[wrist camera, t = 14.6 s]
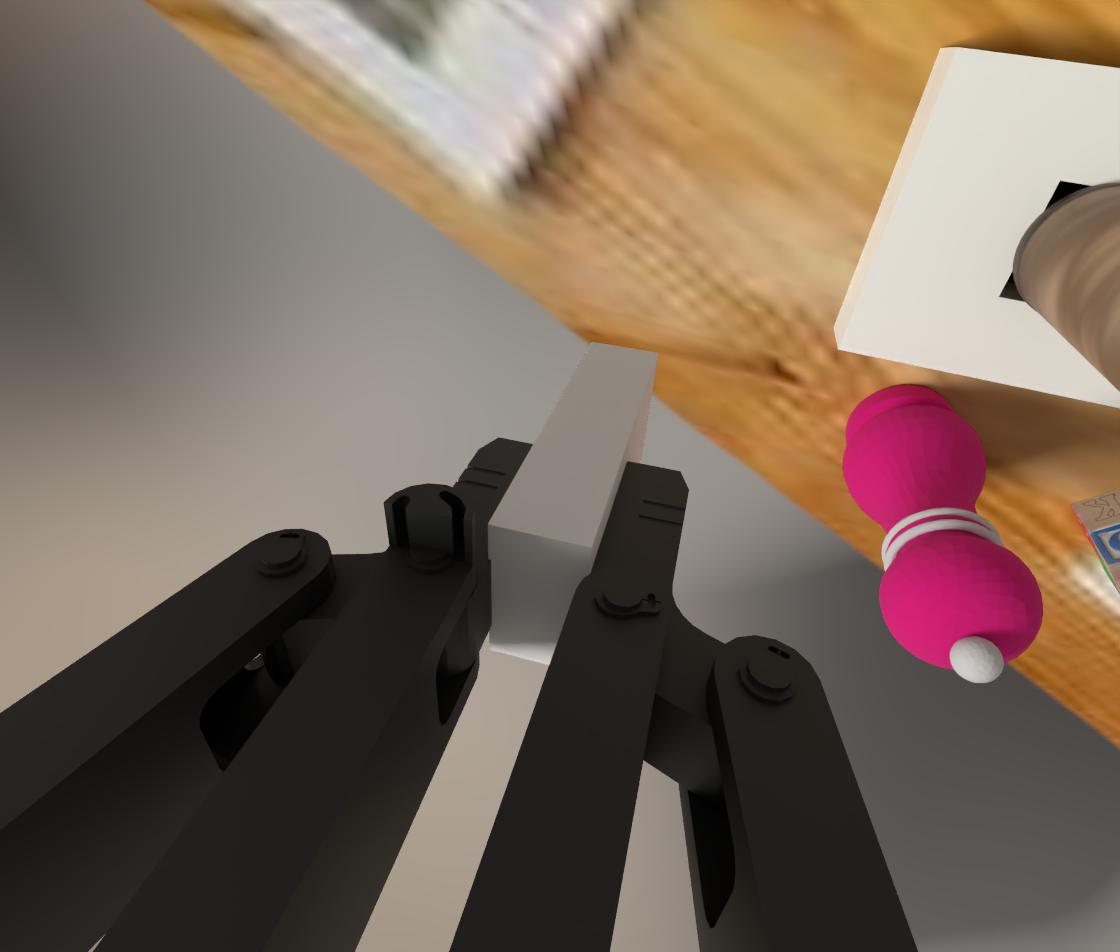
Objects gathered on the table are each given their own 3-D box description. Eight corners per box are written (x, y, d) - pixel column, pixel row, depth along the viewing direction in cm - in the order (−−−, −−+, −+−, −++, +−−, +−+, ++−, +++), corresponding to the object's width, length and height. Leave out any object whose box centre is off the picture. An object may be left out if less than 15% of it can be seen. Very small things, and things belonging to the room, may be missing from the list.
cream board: (940, 47, 30) (957, 47, 27) (1384, 105, 27) (1455, 111, 24) (833, 327, 38) (838, 349, 35) (1165, 395, 35) (1199, 424, 32)
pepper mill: (980, 379, 37) (1135, 624, 21) (947, 481, 41) (1058, 753, 25) (847, 373, 39) (898, 593, 23) (828, 471, 43) (861, 718, 27)
